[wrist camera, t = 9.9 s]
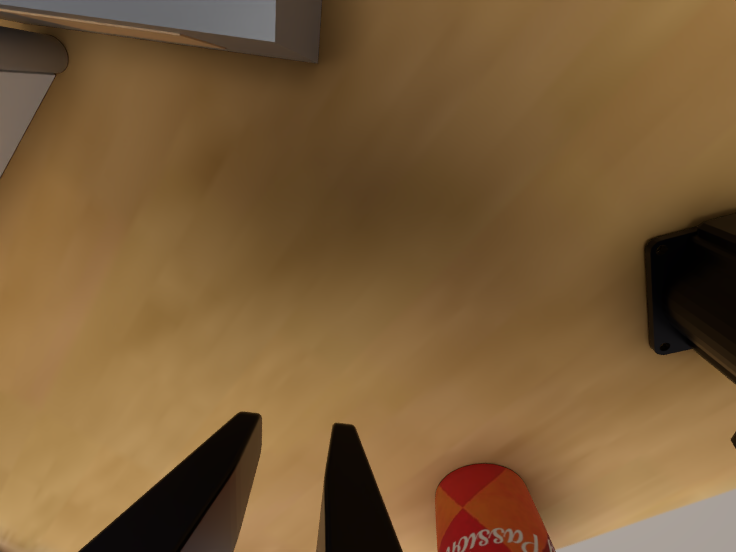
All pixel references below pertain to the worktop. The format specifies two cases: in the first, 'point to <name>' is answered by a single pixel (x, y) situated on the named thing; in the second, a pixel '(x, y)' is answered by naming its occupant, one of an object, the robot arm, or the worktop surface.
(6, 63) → the side door
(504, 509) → the coffee cup
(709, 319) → the robot arm
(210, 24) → the box
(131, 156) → the worktop surface
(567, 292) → the worktop surface
